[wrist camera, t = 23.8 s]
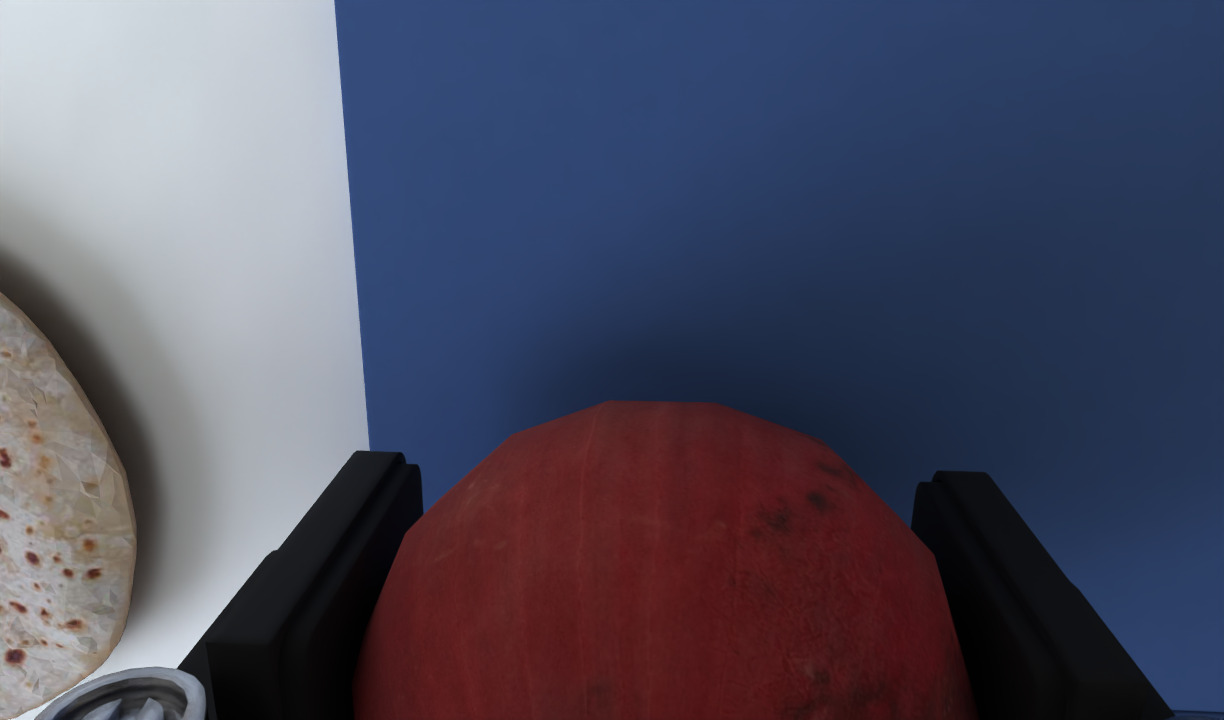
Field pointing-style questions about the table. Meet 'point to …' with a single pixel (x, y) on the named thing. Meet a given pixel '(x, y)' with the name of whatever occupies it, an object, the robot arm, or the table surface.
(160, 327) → the table surface
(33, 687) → the flatbread
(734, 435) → the onion
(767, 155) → the blue rectangular board
